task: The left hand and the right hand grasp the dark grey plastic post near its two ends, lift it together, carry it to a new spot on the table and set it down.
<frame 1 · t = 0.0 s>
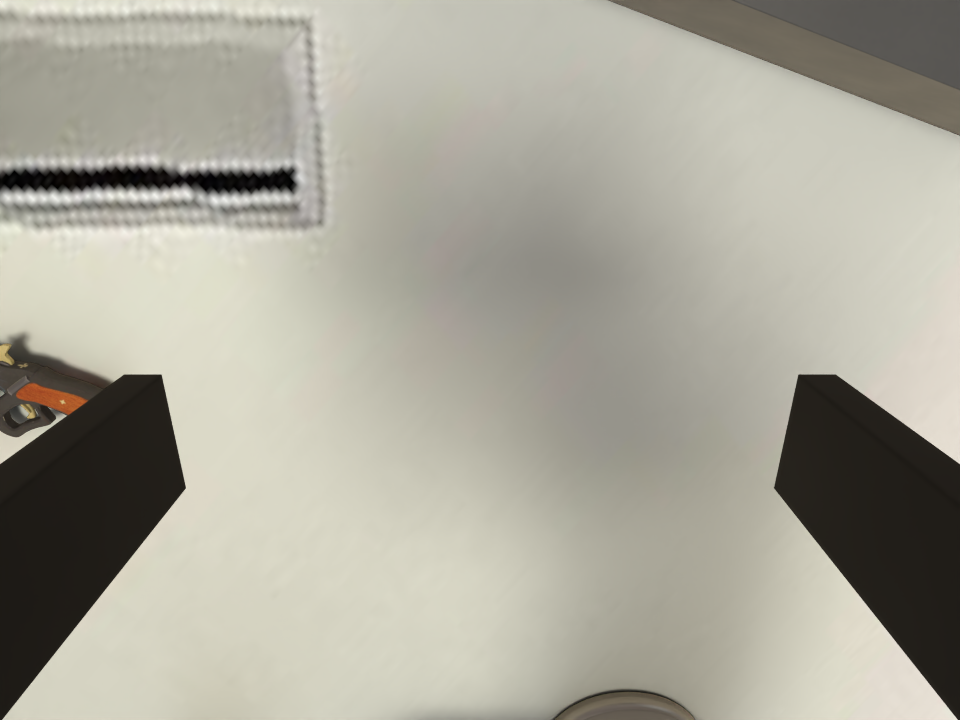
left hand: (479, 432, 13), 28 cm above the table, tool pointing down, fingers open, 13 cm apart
toy gun: (4, 417, 44), on the table
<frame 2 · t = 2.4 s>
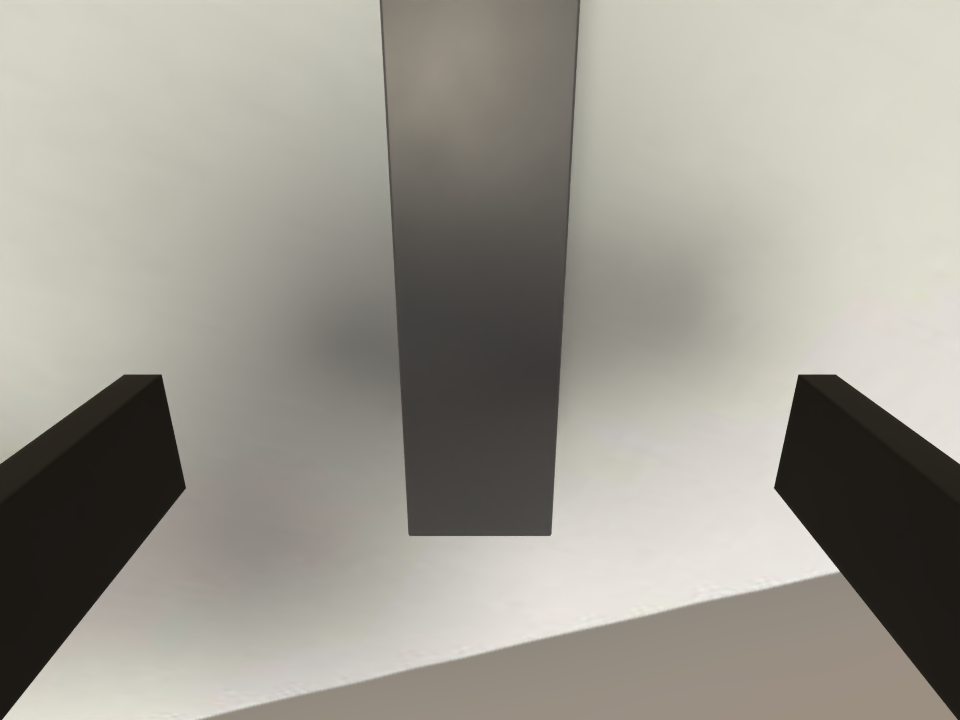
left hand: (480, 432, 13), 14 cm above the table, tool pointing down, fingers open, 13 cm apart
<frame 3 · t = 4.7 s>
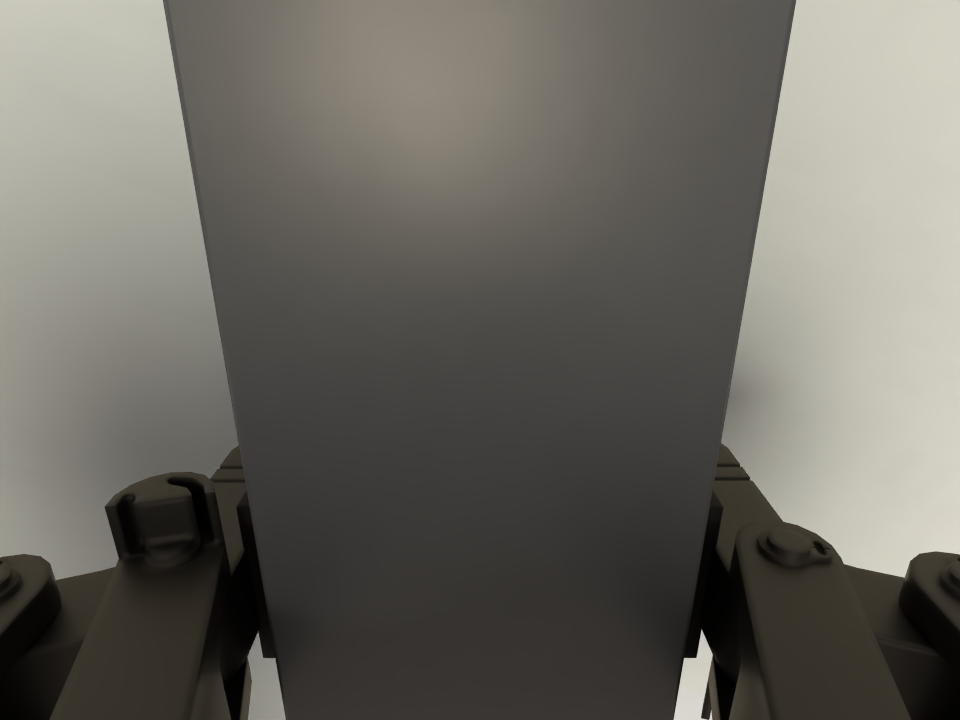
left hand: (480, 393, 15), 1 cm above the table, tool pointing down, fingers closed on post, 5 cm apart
when the left hand's fingers open (2 cm above the table, at t = 10.0 s): post drops 1 cm, on the table.
when the right hand's fingers open (5 cm above the table, at t = 10.2 s): post stays where it is, on the table.
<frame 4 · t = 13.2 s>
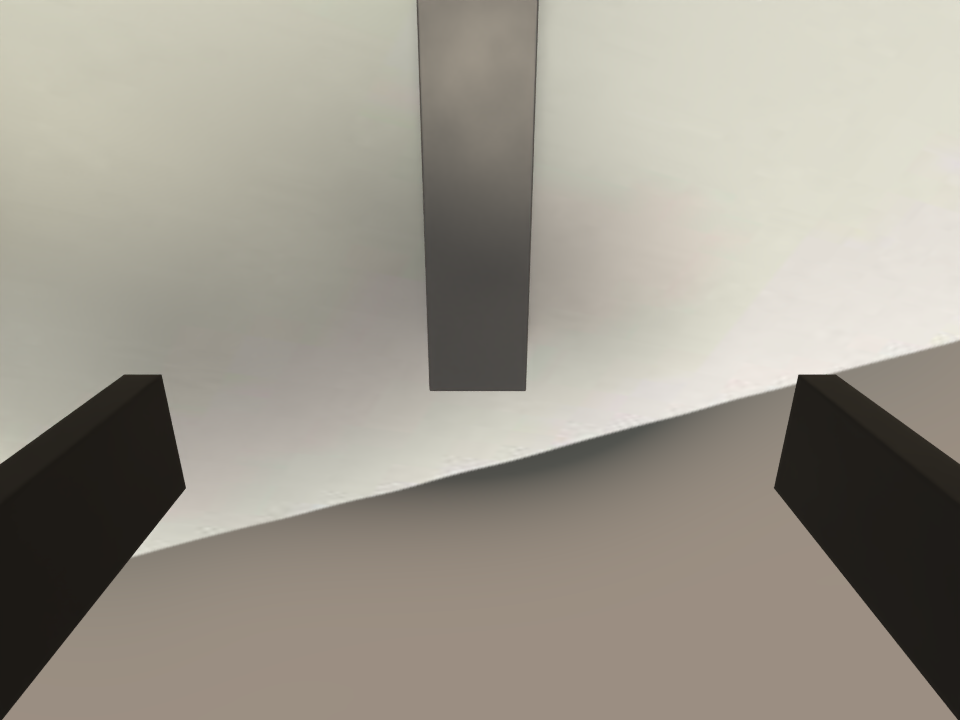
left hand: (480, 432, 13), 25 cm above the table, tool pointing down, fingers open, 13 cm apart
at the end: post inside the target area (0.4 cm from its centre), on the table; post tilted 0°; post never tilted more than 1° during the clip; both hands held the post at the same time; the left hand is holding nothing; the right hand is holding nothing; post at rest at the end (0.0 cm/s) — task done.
